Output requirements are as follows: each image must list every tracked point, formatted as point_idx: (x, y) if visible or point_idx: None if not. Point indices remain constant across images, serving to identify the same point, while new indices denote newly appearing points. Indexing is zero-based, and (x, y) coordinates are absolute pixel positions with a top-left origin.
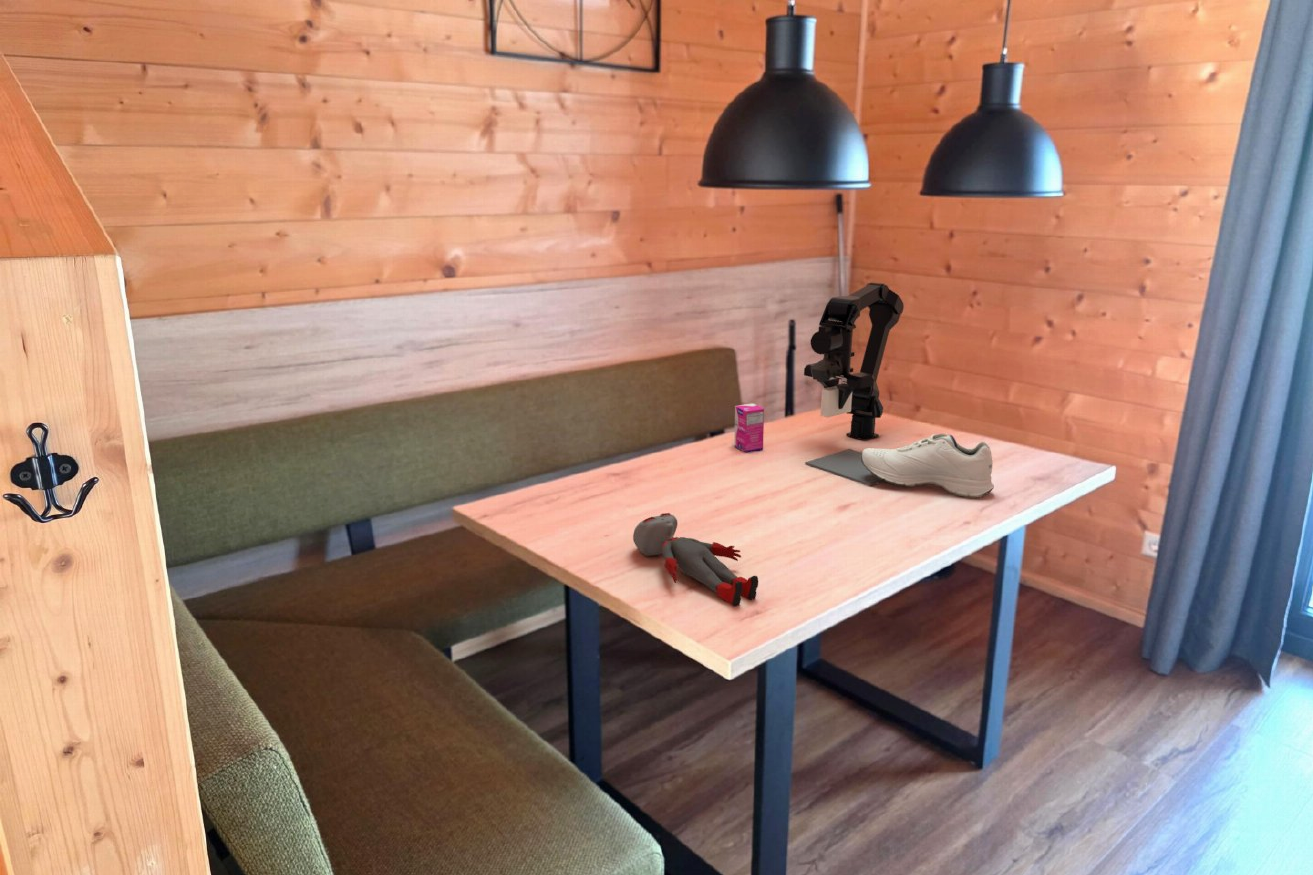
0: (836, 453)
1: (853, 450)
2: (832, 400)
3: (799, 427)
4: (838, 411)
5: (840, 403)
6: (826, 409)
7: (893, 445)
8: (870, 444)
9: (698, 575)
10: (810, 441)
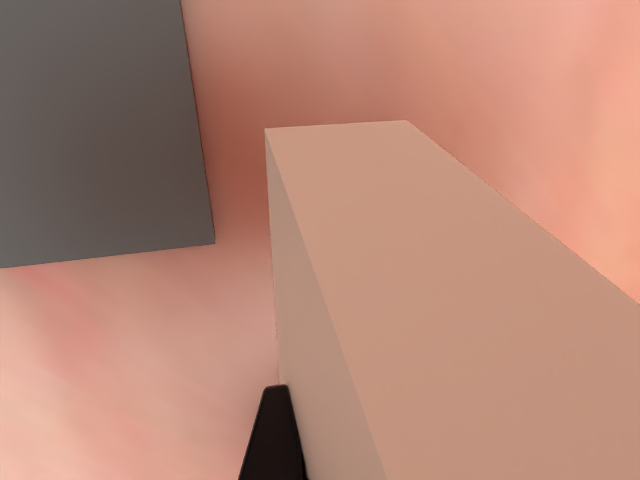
0: (180, 104)
1: (172, 241)
2: (320, 405)
3: (631, 279)
4: (280, 355)
5: (247, 466)
6: (326, 176)
7: (163, 447)
8: (236, 382)
9: None
10: (480, 174)
